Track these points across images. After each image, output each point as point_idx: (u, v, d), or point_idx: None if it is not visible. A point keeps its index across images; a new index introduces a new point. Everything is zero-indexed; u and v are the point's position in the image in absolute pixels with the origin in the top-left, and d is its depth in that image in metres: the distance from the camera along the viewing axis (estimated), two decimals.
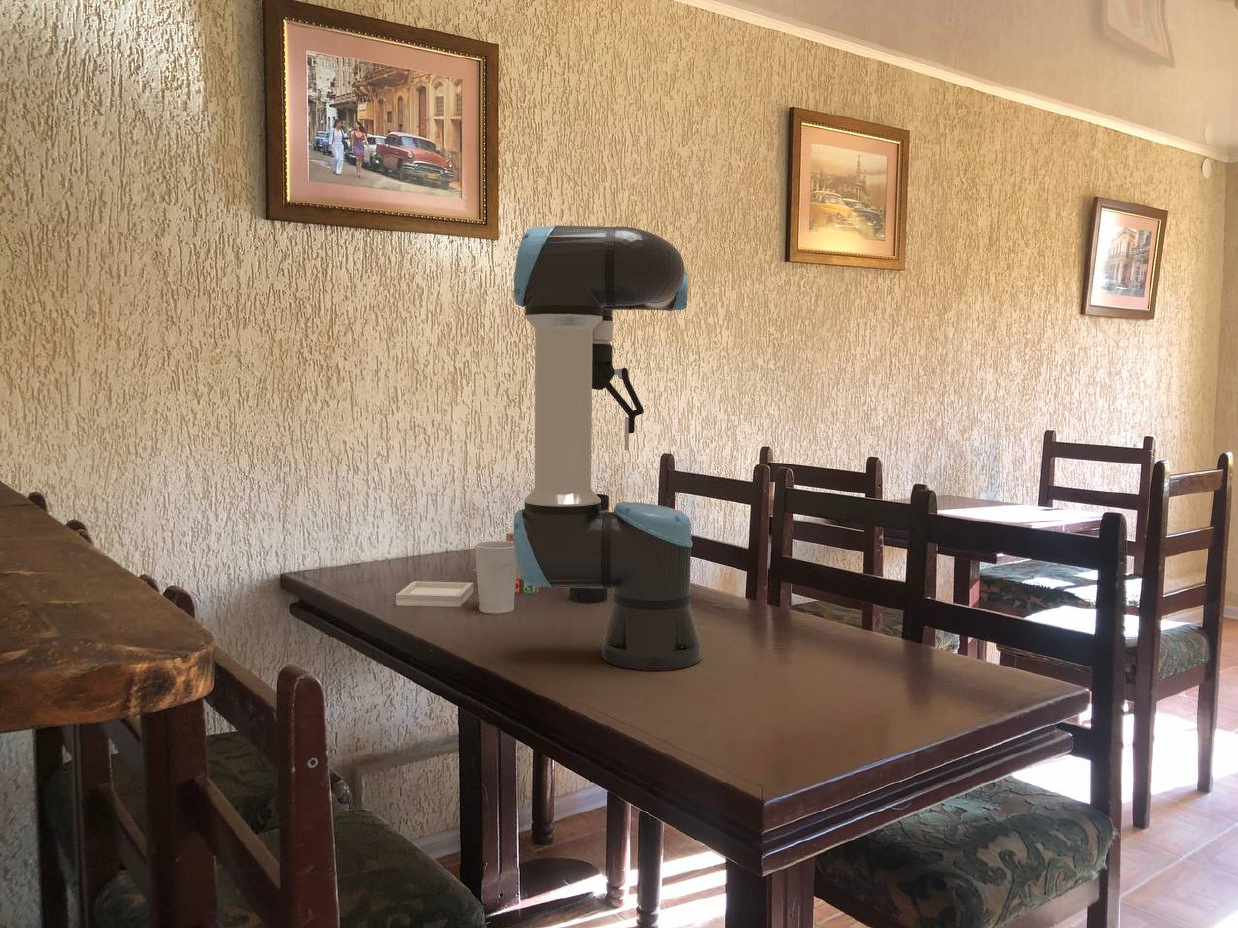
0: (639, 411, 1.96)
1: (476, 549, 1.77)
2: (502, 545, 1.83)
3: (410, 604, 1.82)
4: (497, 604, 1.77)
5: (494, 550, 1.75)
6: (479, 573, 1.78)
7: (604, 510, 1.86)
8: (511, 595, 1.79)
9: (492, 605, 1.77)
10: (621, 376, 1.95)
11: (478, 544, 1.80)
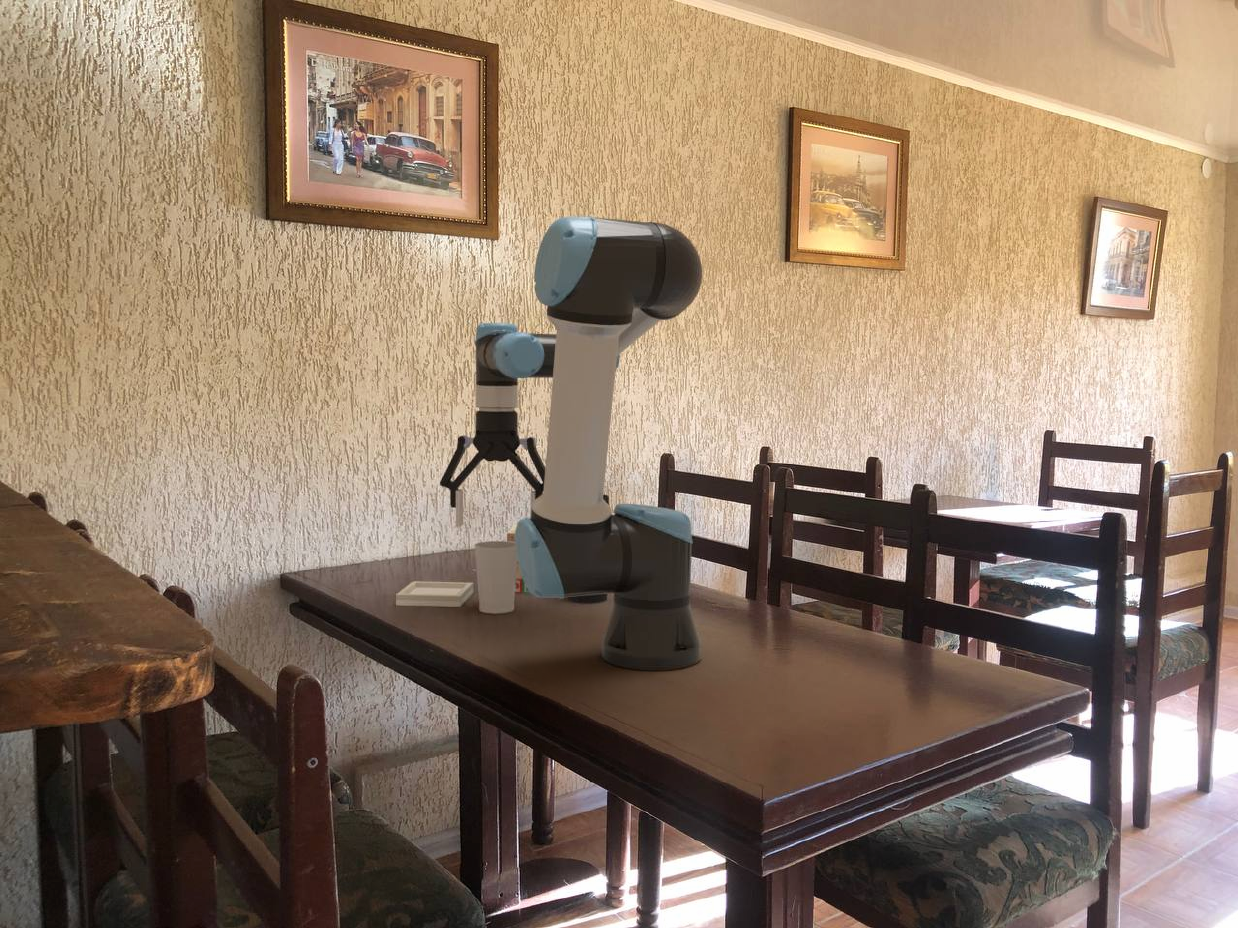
0: None
1: (476, 549, 1.77)
2: (502, 545, 1.83)
3: (410, 604, 1.82)
4: (497, 604, 1.77)
5: (494, 550, 1.75)
6: (479, 573, 1.78)
7: None
8: (511, 595, 1.79)
9: (492, 605, 1.77)
10: (526, 447, 1.76)
11: (478, 544, 1.80)
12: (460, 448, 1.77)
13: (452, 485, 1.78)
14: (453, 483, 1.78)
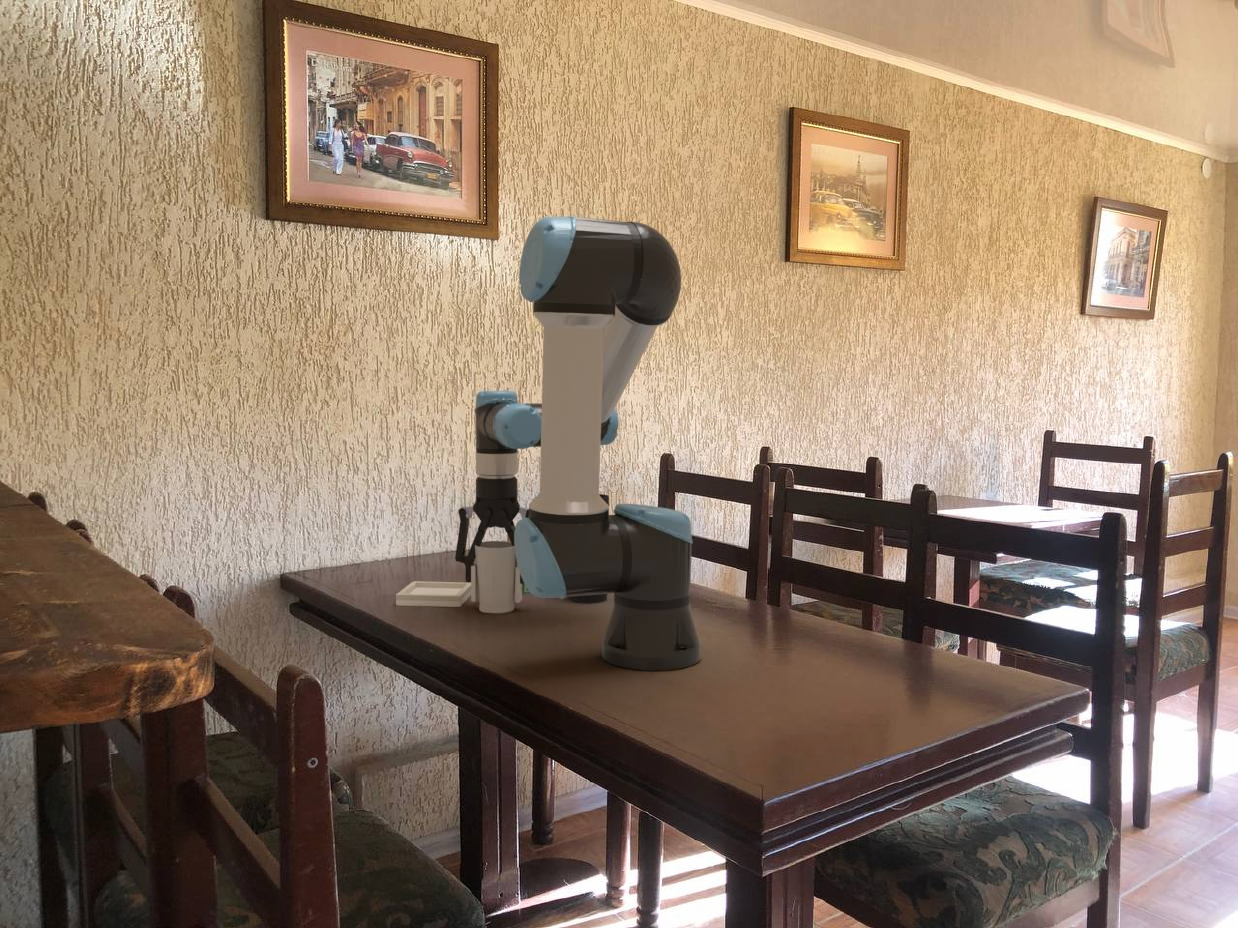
0: None
1: (476, 549, 1.77)
2: (502, 545, 1.83)
3: (410, 604, 1.82)
4: (497, 604, 1.77)
5: (494, 550, 1.75)
6: (479, 573, 1.78)
7: None
8: (511, 595, 1.79)
9: (492, 605, 1.77)
10: (524, 517, 1.77)
11: None
12: (463, 520, 1.78)
13: (467, 560, 1.79)
14: (467, 558, 1.79)
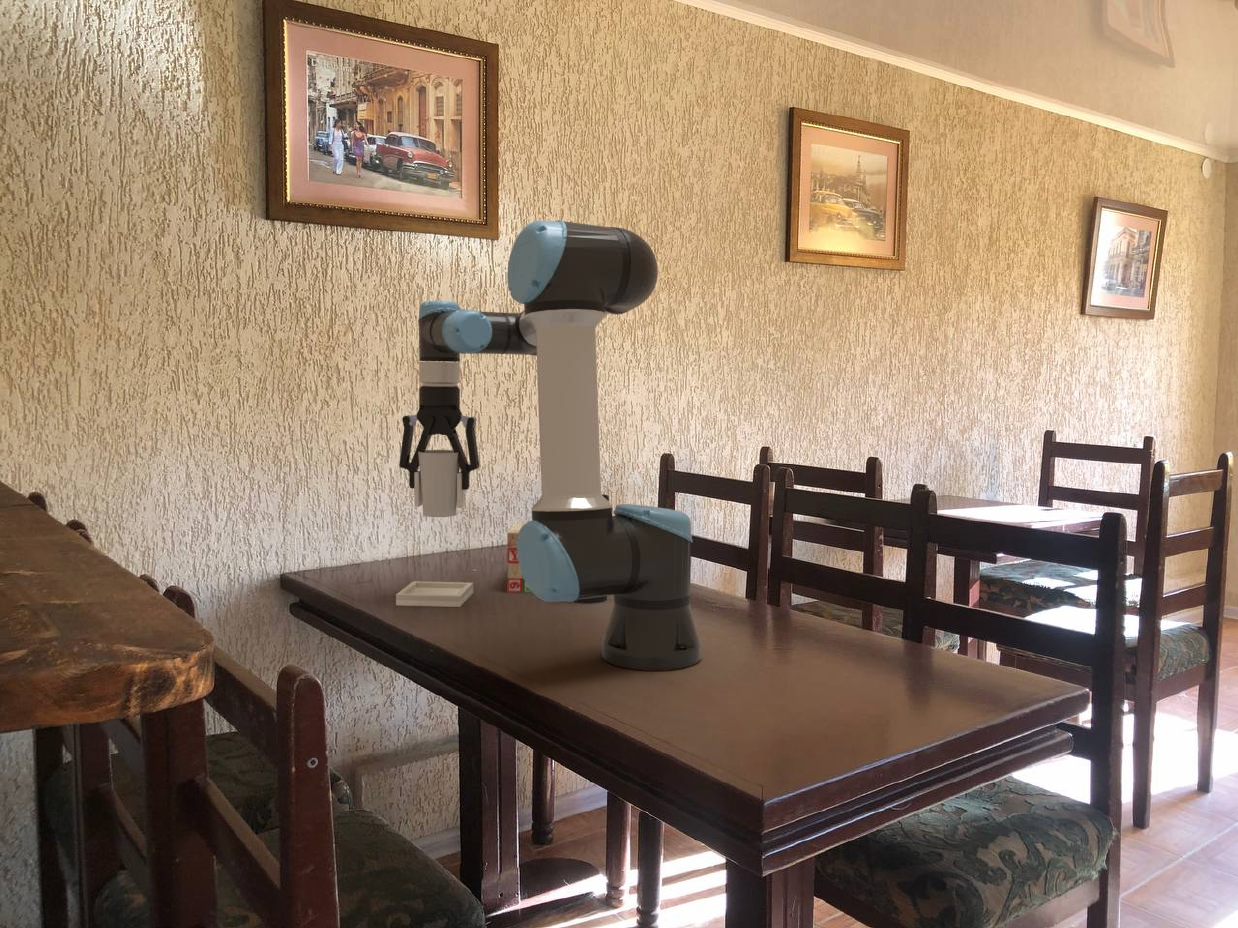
0: (472, 466, 1.84)
1: (419, 455, 1.83)
2: None
3: (410, 604, 1.82)
4: (439, 508, 1.83)
5: (436, 455, 1.81)
6: (422, 478, 1.84)
7: None
8: (453, 500, 1.85)
9: (434, 509, 1.83)
10: (465, 425, 1.83)
11: None
12: (407, 427, 1.84)
13: (410, 467, 1.85)
14: (411, 465, 1.85)
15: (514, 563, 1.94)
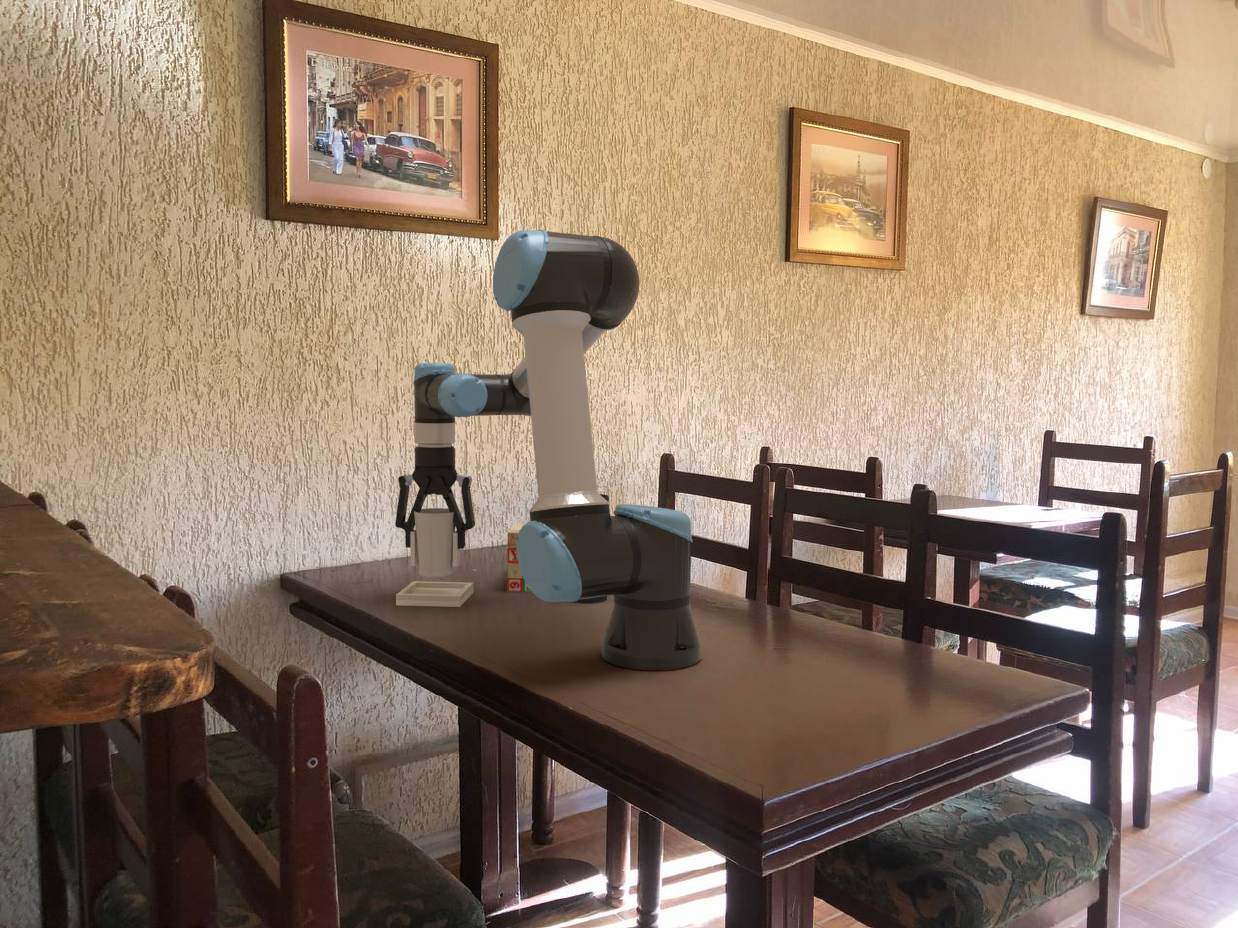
0: (468, 525, 1.85)
1: (415, 515, 1.85)
2: (442, 512, 1.90)
3: (410, 604, 1.82)
4: (435, 568, 1.84)
5: (432, 516, 1.83)
6: (418, 538, 1.85)
7: None
8: (449, 559, 1.86)
9: (430, 569, 1.84)
10: (461, 485, 1.85)
11: None
12: (403, 487, 1.85)
13: (406, 526, 1.86)
14: (407, 524, 1.86)
15: (514, 563, 1.94)
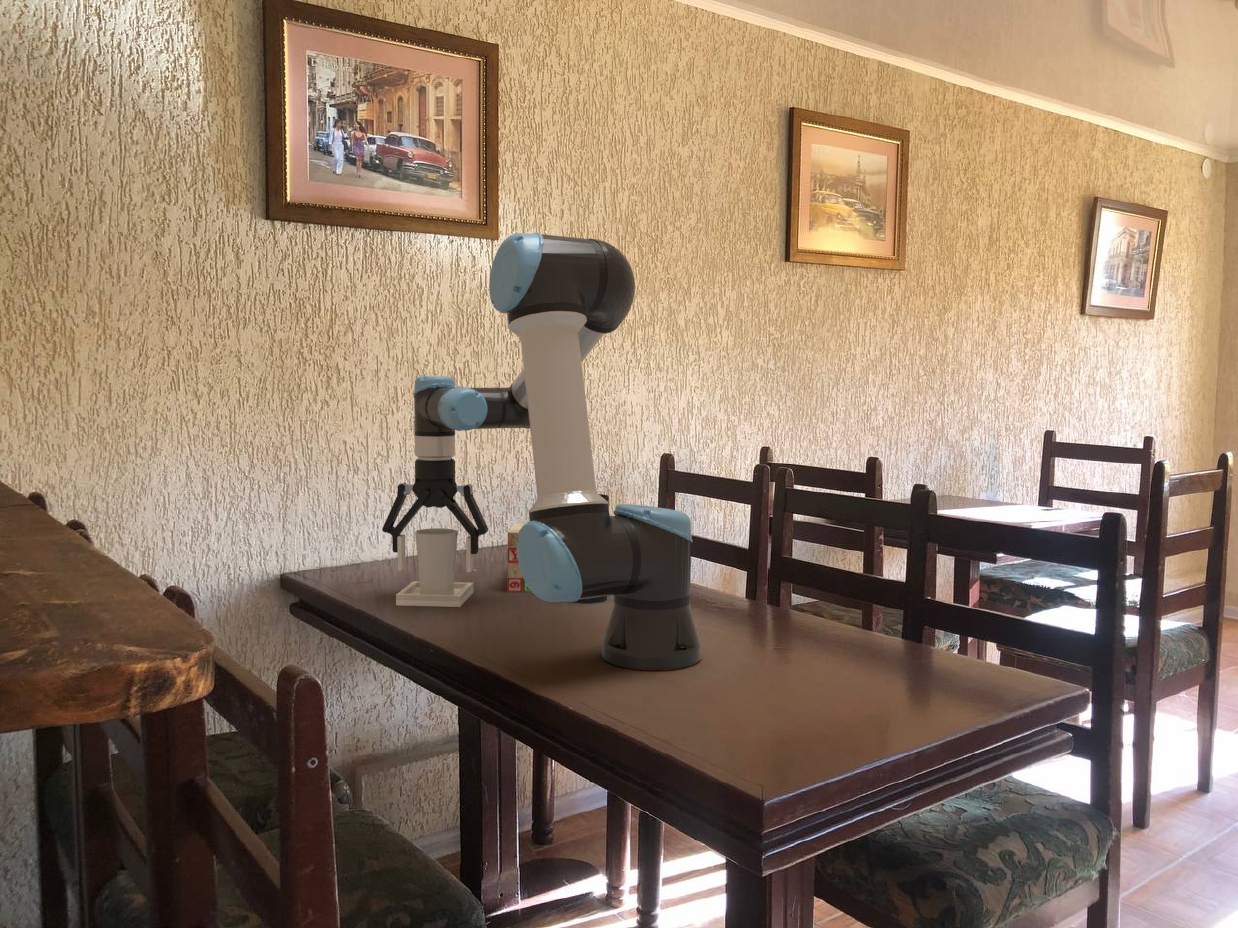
0: (481, 531, 1.85)
1: (416, 536, 1.85)
2: (443, 533, 1.90)
3: (410, 604, 1.82)
4: (436, 588, 1.85)
5: (433, 536, 1.83)
6: (419, 559, 1.85)
7: None
8: (450, 580, 1.86)
9: (431, 589, 1.85)
10: (463, 494, 1.85)
11: (419, 531, 1.88)
12: (400, 495, 1.85)
13: (394, 531, 1.86)
14: (395, 529, 1.86)
15: (515, 563, 1.94)
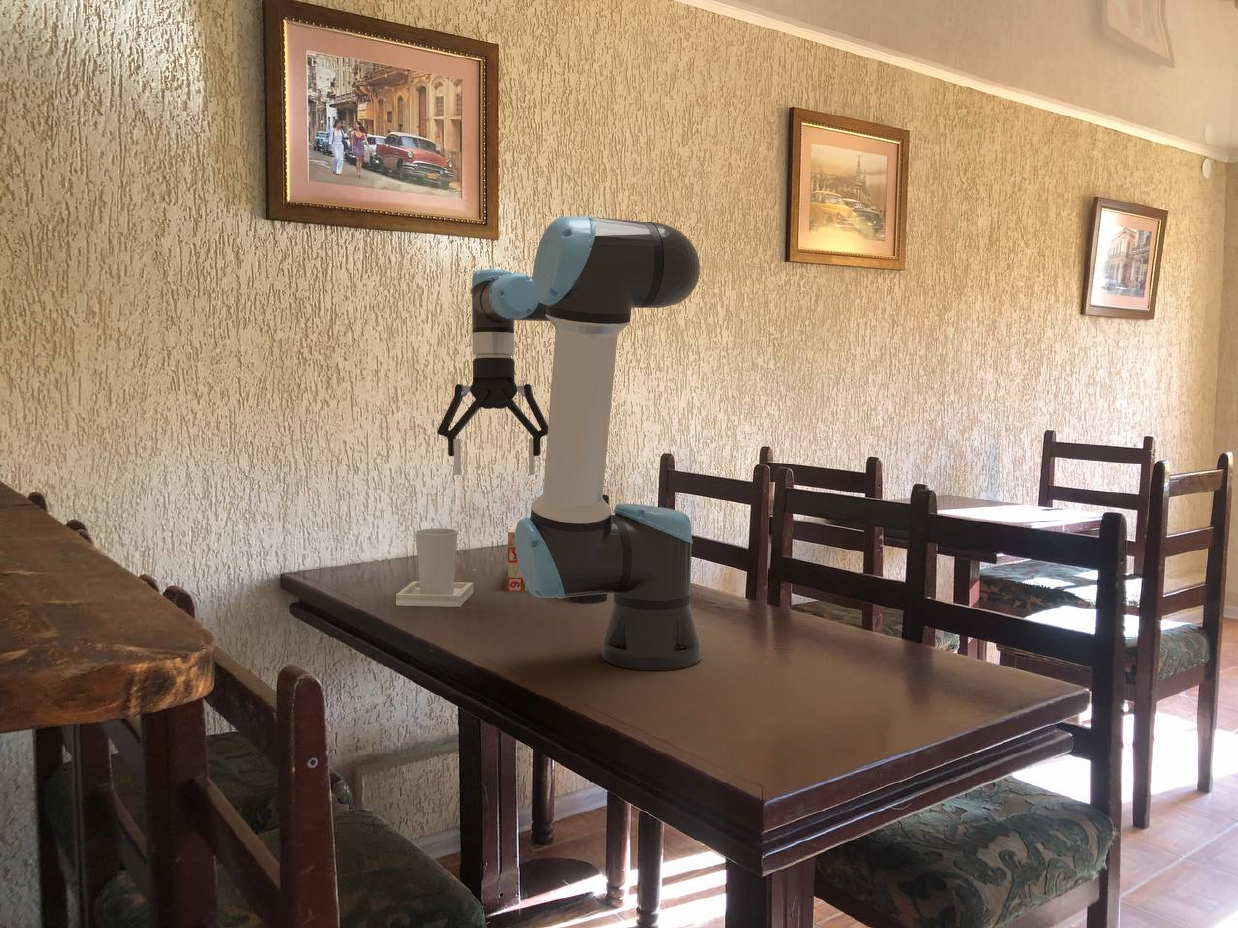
0: (544, 431, 1.77)
1: (416, 536, 1.85)
2: (443, 532, 1.90)
3: (410, 604, 1.82)
4: (436, 588, 1.85)
5: (433, 536, 1.83)
6: (419, 559, 1.85)
7: None
8: (450, 580, 1.86)
9: (431, 589, 1.85)
10: (524, 393, 1.77)
11: (419, 531, 1.88)
12: (457, 396, 1.77)
13: (450, 433, 1.78)
14: (451, 431, 1.78)
15: (515, 562, 1.95)
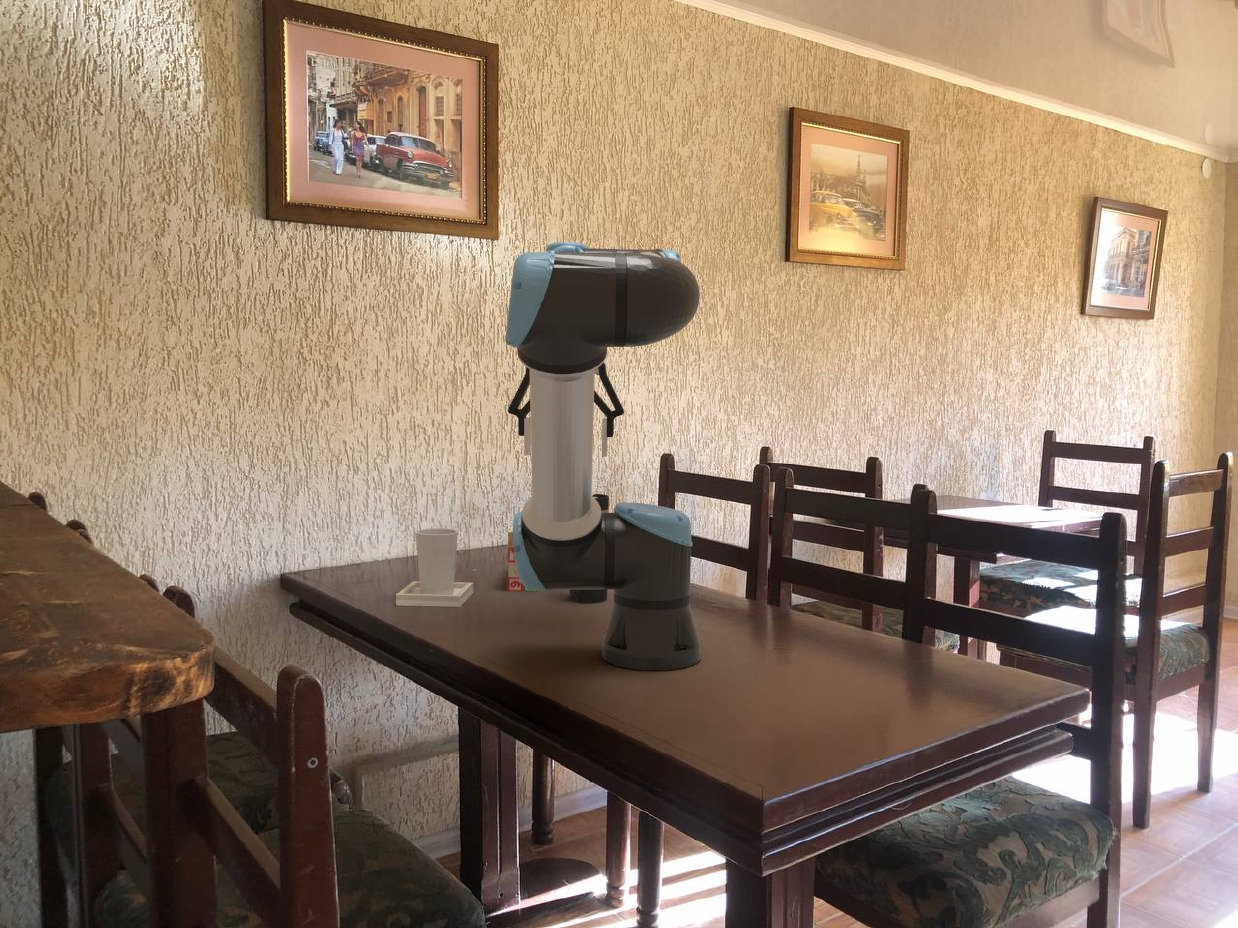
0: (618, 412, 1.71)
1: (416, 536, 1.85)
2: (443, 533, 1.90)
3: (410, 604, 1.82)
4: (436, 588, 1.85)
5: (433, 536, 1.83)
6: (419, 559, 1.85)
7: (604, 510, 1.86)
8: (450, 580, 1.86)
9: (431, 589, 1.85)
10: (598, 372, 1.70)
11: (419, 531, 1.88)
12: (529, 374, 1.71)
13: (520, 412, 1.72)
14: (521, 410, 1.72)
15: None
